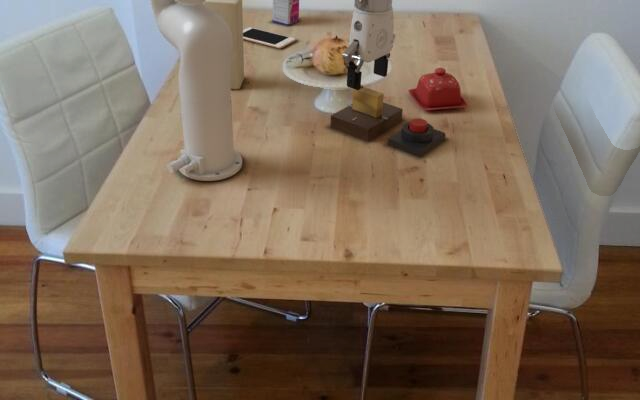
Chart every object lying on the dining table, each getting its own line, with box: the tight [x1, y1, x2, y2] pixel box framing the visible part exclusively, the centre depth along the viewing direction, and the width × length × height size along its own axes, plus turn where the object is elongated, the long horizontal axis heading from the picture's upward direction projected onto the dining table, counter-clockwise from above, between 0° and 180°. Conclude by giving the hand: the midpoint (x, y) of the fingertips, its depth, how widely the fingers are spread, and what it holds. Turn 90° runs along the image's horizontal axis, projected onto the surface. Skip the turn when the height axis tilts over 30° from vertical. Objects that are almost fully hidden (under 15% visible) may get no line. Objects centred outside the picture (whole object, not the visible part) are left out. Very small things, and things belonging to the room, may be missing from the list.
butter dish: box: [407, 67, 468, 111], centre depth 172 cm, size 12×12×8 cm
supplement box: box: [272, 0, 300, 27], centre depth 216 cm, size 6×6×12 cm
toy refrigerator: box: [203, 0, 245, 90], centre depth 175 cm, size 8×7×21 cm
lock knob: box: [352, 84, 385, 118], centre depth 161 cm, size 6×2×5 cm, turn 51°
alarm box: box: [387, 121, 447, 158], centre depth 156 cm, size 10×8×4 cm
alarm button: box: [409, 117, 428, 133], centre depth 155 cm, size 4×4×2 cm
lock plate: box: [330, 101, 404, 143], centre depth 163 cm, size 13×11×3 cm
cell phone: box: [243, 26, 297, 49], centre depth 206 cm, size 8×16×1 cm, turn 58°
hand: (367, 81), depth 158 cm, fingers open, 9 cm apart
